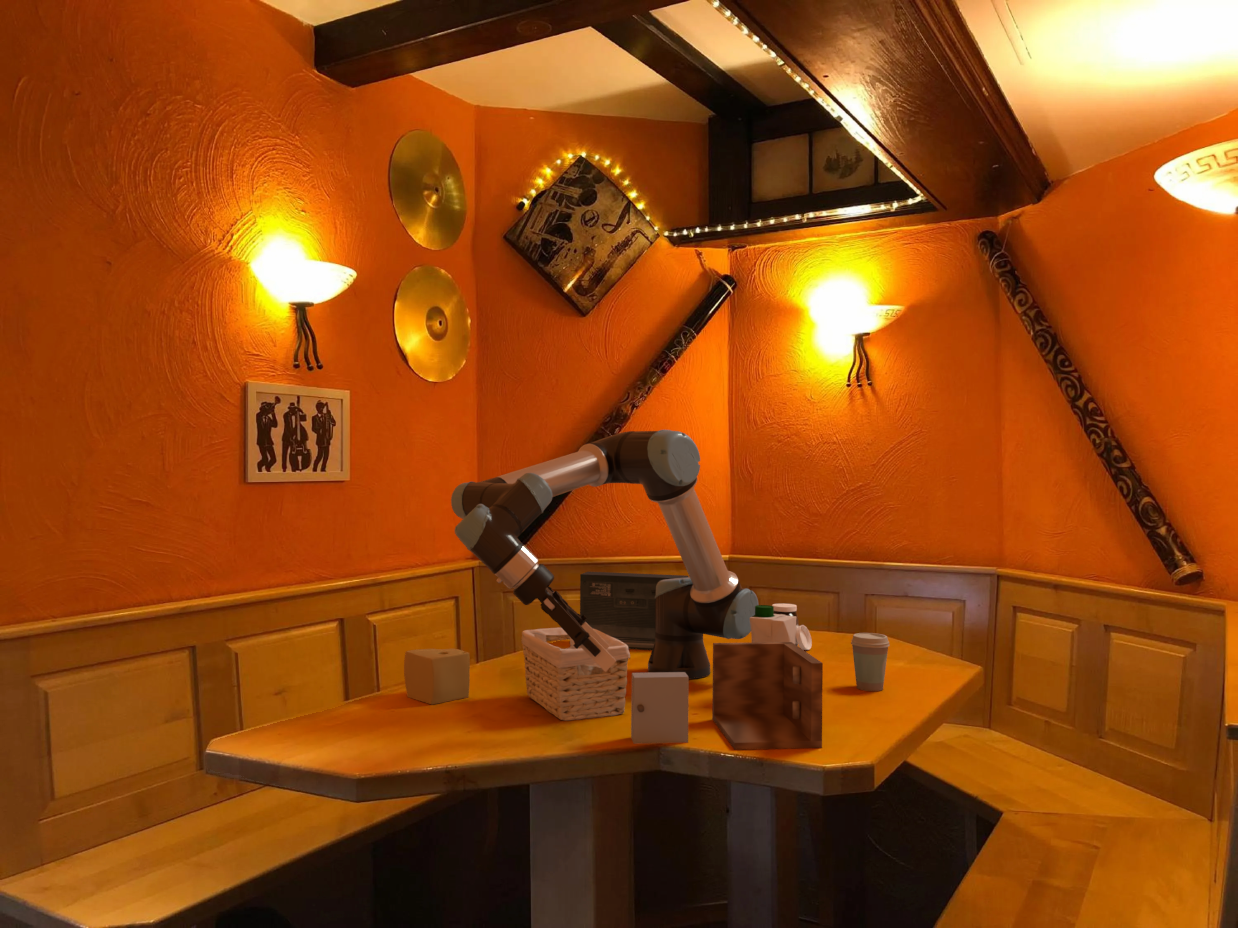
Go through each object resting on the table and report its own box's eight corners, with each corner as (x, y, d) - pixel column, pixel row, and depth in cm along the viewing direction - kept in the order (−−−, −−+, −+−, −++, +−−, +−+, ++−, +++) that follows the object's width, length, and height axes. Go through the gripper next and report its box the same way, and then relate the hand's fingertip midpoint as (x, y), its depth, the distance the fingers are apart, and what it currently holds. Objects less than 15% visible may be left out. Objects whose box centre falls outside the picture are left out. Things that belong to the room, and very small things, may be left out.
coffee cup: (890, 693, 212) (891, 639, 212) (851, 691, 214) (851, 638, 214) (887, 684, 220) (888, 633, 220) (849, 682, 222) (850, 631, 222)
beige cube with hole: (443, 689, 213) (444, 644, 213) (472, 698, 205) (472, 651, 205) (403, 697, 206) (403, 650, 206) (430, 706, 198) (431, 658, 198)
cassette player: (687, 647, 263) (688, 575, 263) (682, 652, 257) (683, 578, 257) (587, 641, 271) (587, 571, 271) (579, 646, 264) (580, 574, 264)
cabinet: (734, 749, 170) (735, 664, 170) (712, 719, 189) (713, 642, 189) (821, 747, 171) (822, 663, 171) (790, 717, 191) (791, 642, 191)
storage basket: (632, 716, 192) (633, 643, 192) (556, 725, 185) (557, 649, 185) (587, 690, 213) (588, 624, 213) (518, 697, 207) (519, 629, 207)
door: (634, 744, 172) (634, 678, 172) (631, 737, 177) (631, 672, 177) (688, 743, 173) (689, 677, 173) (684, 736, 178) (684, 671, 178)
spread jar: (769, 643, 271) (770, 602, 271) (810, 644, 269) (810, 603, 269) (770, 651, 259) (770, 608, 259) (812, 652, 257) (813, 609, 257)
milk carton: (761, 692, 212) (762, 602, 212) (800, 698, 207) (801, 606, 207) (745, 700, 204) (745, 607, 204) (784, 706, 200) (785, 611, 199)
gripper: (511, 582, 185) (588, 658, 186) (509, 601, 160) (598, 688, 162) (539, 555, 185) (615, 631, 187) (541, 569, 161) (629, 657, 162)
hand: (607, 658), depth 174 cm, fingers open, 13 cm apart
